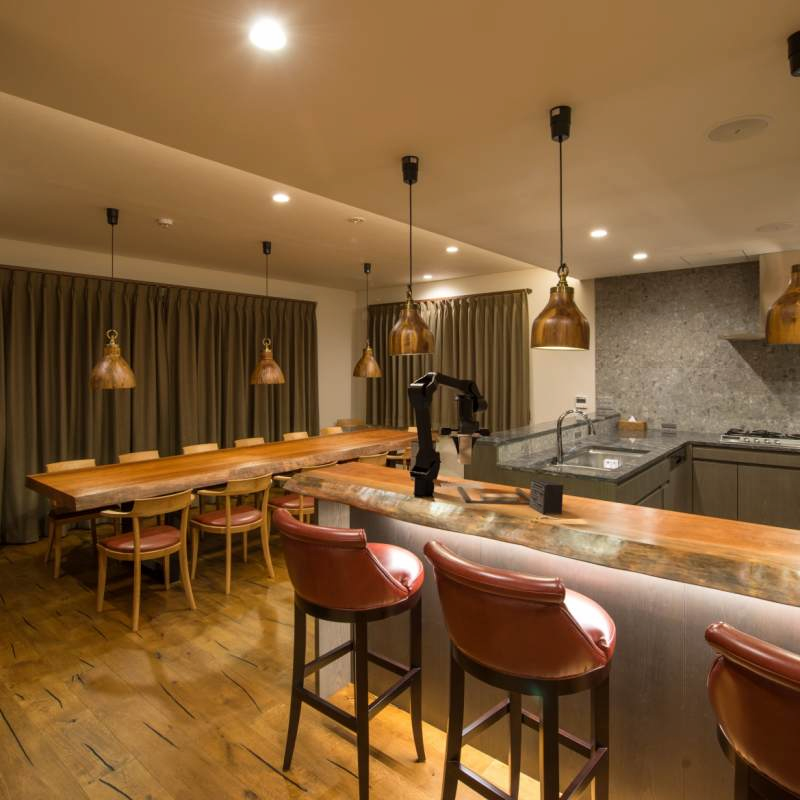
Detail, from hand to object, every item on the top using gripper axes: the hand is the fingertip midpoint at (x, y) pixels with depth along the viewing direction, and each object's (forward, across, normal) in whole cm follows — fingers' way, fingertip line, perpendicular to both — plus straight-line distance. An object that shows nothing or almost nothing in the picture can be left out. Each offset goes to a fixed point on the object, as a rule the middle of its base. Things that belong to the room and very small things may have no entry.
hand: (463, 454), depth 196 cm
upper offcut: (+12, +8, -26) cm, 30 cm away
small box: (+13, +20, -38) cm, 45 cm away
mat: (+13, 0, 0) cm, 13 cm away
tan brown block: (+3, 0, 0) cm, 3 cm away
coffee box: (+13, -14, +17) cm, 26 cm away
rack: (+13, +8, -20) cm, 25 cm away
